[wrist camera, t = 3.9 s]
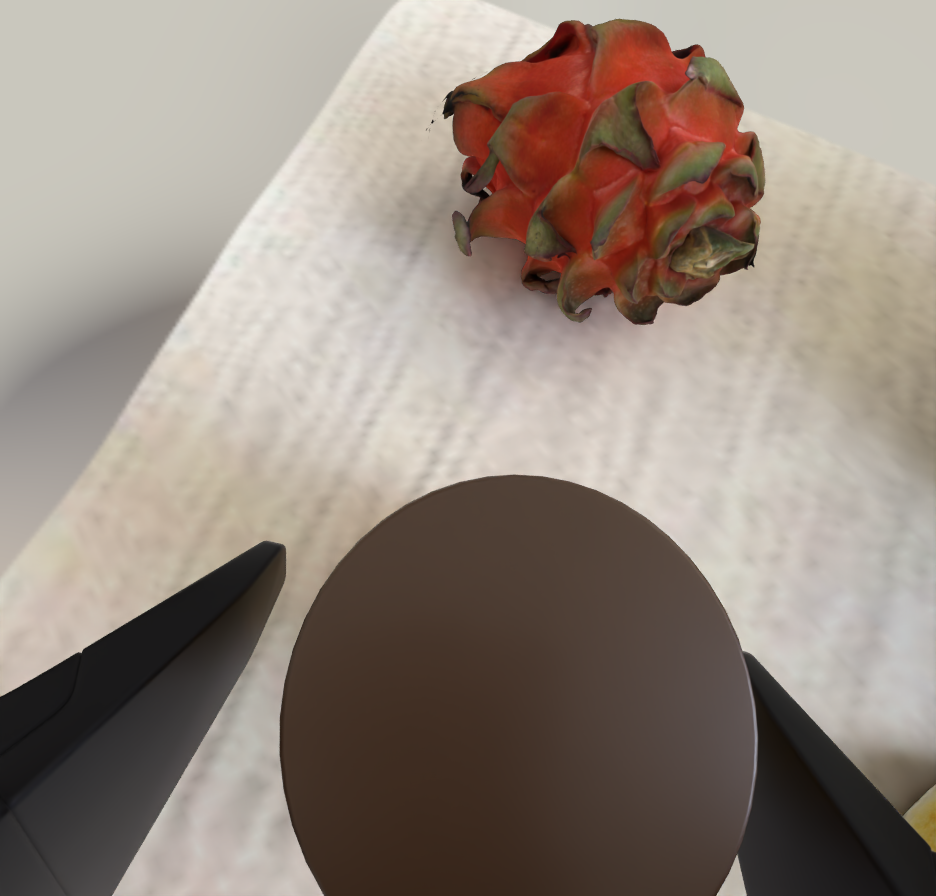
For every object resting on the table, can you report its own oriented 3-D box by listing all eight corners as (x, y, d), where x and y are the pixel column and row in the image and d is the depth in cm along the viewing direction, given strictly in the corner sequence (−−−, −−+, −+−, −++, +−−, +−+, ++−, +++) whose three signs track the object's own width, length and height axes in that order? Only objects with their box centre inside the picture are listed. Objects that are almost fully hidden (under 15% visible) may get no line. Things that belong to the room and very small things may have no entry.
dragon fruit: (679, 370, 21) (455, 246, 24) (821, 165, 18) (542, 49, 21) (676, 387, 13) (347, 200, 16) (923, 31, 10) (458, -123, 13)
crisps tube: (488, 753, 16) (595, 1156, 5) (347, 638, 16) (167, 776, 5) (587, 600, 17) (839, 654, 6) (453, 499, 17) (473, 391, 7)
